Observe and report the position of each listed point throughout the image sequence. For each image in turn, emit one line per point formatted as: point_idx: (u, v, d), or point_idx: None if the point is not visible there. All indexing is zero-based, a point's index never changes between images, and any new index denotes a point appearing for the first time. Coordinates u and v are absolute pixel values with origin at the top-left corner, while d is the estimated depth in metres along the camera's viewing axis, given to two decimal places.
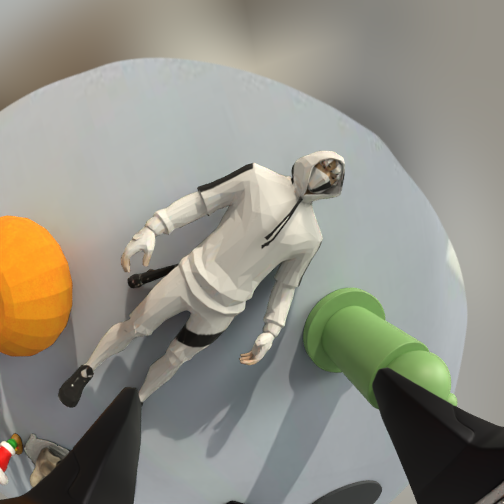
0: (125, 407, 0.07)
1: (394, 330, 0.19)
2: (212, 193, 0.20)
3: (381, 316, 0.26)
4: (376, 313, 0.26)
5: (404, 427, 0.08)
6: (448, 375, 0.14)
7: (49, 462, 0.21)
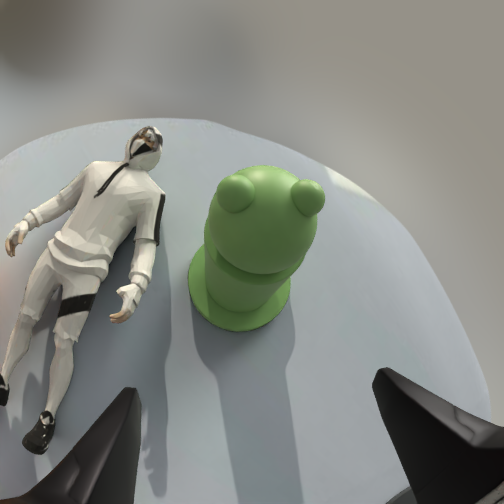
0: (125, 407, 0.07)
1: None
2: (66, 188, 0.22)
3: None
4: None
5: (404, 427, 0.08)
6: (280, 168, 0.13)
7: None
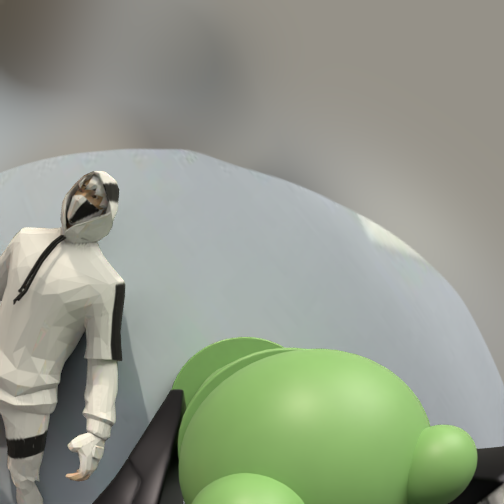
0: (177, 410, 0.08)
1: None
2: None
3: None
4: None
5: None
6: (371, 379, 0.04)
7: None
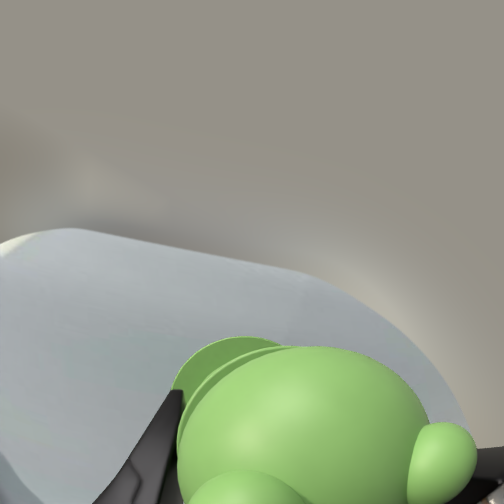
0: (177, 410, 0.08)
1: None
2: None
3: None
4: None
5: None
6: (370, 376, 0.04)
7: None
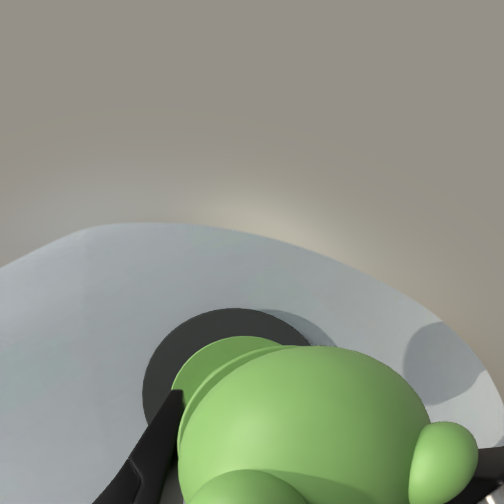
0: (177, 410, 0.08)
1: None
2: None
3: None
4: None
5: None
6: (371, 375, 0.04)
7: None
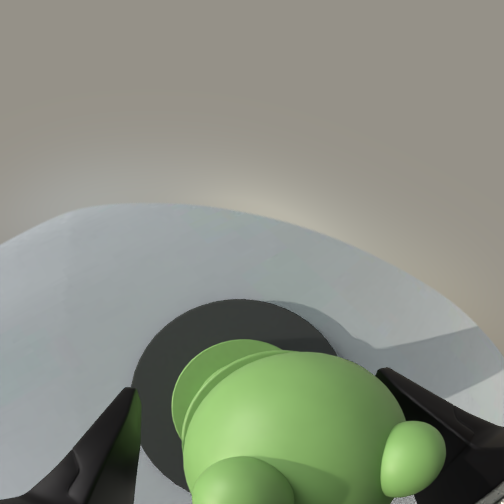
0: (125, 407, 0.07)
1: None
2: None
3: None
4: None
5: None
6: (348, 379, 0.05)
7: None
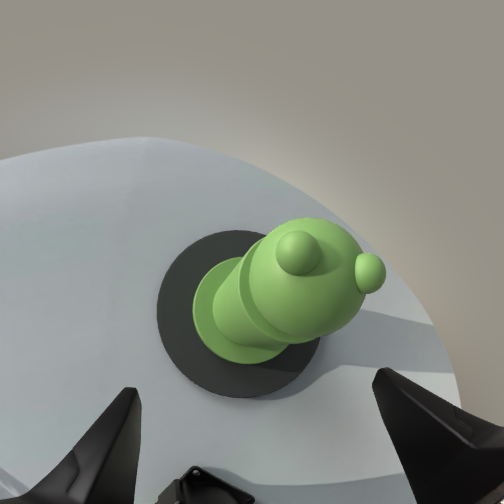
0: (125, 407, 0.07)
1: None
2: None
3: None
4: None
5: (404, 427, 0.08)
6: (344, 229, 0.12)
7: None
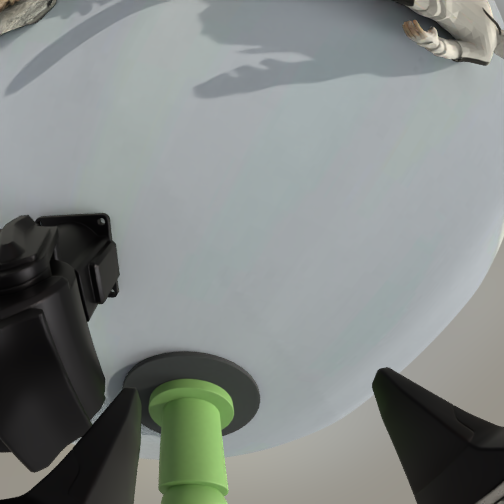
0: (125, 407, 0.07)
1: None
2: None
3: None
4: None
5: (403, 427, 0.08)
6: None
7: None
